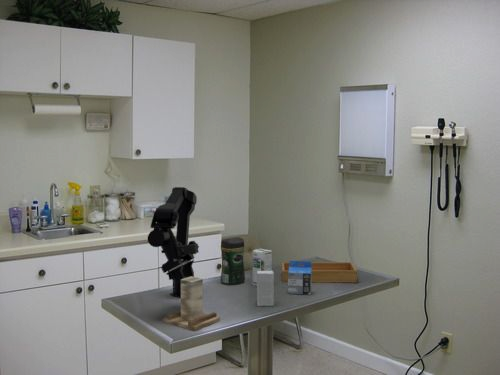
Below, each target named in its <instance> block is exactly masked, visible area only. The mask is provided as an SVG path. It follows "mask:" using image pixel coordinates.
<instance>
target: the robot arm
mask: <svg viewBox="0 0 500 375" xmlns="http://www.w3.org/2000/svg"><path fill="white" fill-rule="evenodd" d="M197 199H198V198H197V194H195V192H194V191H191V190H189V189H188V188H187V187H184V186H183V187H182V186H181V187H180V186H174V187H172V190H171V193H170V195H169V196H168V198H167V200H166V201H165V203H164V204H160V205H159V206H158V207H157V208H156V209H155V210H154V212H153V215H152V220H151V223H150V229H153V230H151V231H150V232H149V234H148V235H147V242H148V244H149V245H150V246H151V247H153V248H159V247H161V249H162V250H160V251H161V254H164V256H165V257H166V259H167V261H166V262H165V263H162V265H161V271H162V273H163V274H165V275H166V276H168V280H169V281H171V280H172V292H170V293H169V295H170V296H173V297H176V298H181V279H184V278H188V277H191V276H192V277H195V272H194V268H193V264H194V262H195V256H194V255H197V254H199V247H200V246H199V244H198V243H197V242H196V240H190V241H189V235H190V234H189V231H190V222H191V221H190V217H191V214H192V213H193V212H195V208H196V207H195V206H196V205H197ZM175 227H176V235H174V234H175V233H174V232H173V230H172V229H175Z"/></svg>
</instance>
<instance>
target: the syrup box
mask: <svg viewBox="0 0 500 375" xmlns="http://www.w3.org/2000/svg"><path fill="white" fill-rule="evenodd" d="M272 255H273V250H269V249H264V248H257V249H254V250H252V280H251V281H252V283H251V284H252V286H256V287H257V271H273V270H272V266H273V265H272V262H273V261H272V259H273V256H272Z"/></svg>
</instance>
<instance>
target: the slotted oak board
mask: <svg viewBox="0 0 500 375" xmlns="http://www.w3.org/2000/svg"><path fill="white" fill-rule="evenodd" d="M163 322H164V323H166V324H170V325H173V326H176V327H180V328H183V329H187V330H189V331H190V330H191V331H194V332H196V331H199V330H202V329H203V328H206V327H209V326H211V325H214V324H217V323H219V322H221V318H220V317H219V316H217V312H214V311H213V312H210V313H204V312H203V316H202V317H199V318H196V319H194V320H191V321H189V320H185V319H182V318H181V310H179V311H175V312H173V313H170V314H168V315H166V317H164V318H163Z"/></svg>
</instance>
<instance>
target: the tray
mask: <svg viewBox="0 0 500 375" xmlns="http://www.w3.org/2000/svg"><path fill="white" fill-rule="evenodd" d="M310 262H311V268H312V274H311V283H358V270H357V269H356V267H355V265H354V263H353V262H349V261H347V262H346V261H345V262H344V261H343V262H342V261H341V262H339V261H337V262H336V261H335V262H330V261H329V262H326V261H324V262H323V261H322V262H320V261H318V262H317V261H315V262H314V261H313V262H312V261H310ZM297 265H301V266H304V264H301V263H300V264H297ZM288 272H289V261H288V262H287V261H286V262H281V278H282V283H288Z"/></svg>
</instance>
